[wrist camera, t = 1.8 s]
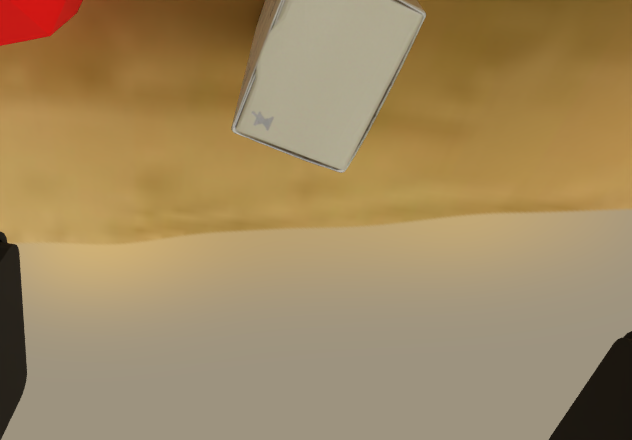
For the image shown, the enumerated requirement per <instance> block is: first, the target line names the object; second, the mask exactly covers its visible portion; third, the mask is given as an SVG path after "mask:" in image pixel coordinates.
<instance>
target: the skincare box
mask: <svg viewBox="0 0 632 440" xmlns="http://www.w3.org/2000/svg"><path fill="white" fill-rule="evenodd" d="M425 17H426V13H425V11H424V10H423V8H422V7H421V6H420V4H419V2H418V1H417V0H265V3H264V5H263V8H262V11H261V14H260V17H259V20H258V23H257V26H256V30H255V34H254V38H253V42H252V46H251V50H250V55H249V59H248V63H247V67H246V71H245V75H244V79H243V83H242V86H241V90H240V95H239V99H238V103H237V107H236V111H235V115H234V120H233V124H232V131H233V132H234V133H236V134H238V135H241V136H243V137H246V138H249V139H251V140H254V141H256V142H258V143H261V144H264V145H266V146H269V147H271V148H273V149H276V150H279V151H281V152H284V153H286V154H289V155H292V156H294V157H297V158H299V159H302V160H305V161H307V162H310V163H313V164H316V165H318V166H322V167H326V168H328V169H331V170H334V171H337V172H341V173H342V172H345V171H346V169H347V168H348V166H349V165H350V163H351V161H352V160H353V158H354V157H355V155H356V153H357V151H358V150H359V148H360V146H361V145H362V143H363V141H364V139H365V137H366V136H367V134H368V132H369V130H370V128H371V126H372V124H373V123H374V121H375V119H376V117H377V115H378V113H379V111H380V109H381V107H382V105H383V103H384V101H385V99H386V97H387V95H388V94H389V92H390V90H391V88H392V86H393V84H394V82H395V80H396V78H397V76H398V74H399V71H400V69H401V68H402V66H403V63H404V61H405V59H406V57H407V55H408V53H409V51H410V49H411V47H412V45H413V43H414V40H415V38H416V36H417V34H418V32H419V30H420V28H421V25H422V23H423V21H424V19H425Z"/></svg>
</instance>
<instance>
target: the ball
mask: <svg viewBox="0 0 632 440" xmlns="http://www.w3.org/2000/svg"><path fill="white" fill-rule="evenodd" d="M82 1H83V0H0V46H2V45H7V44H12V43H17V42H22V41H27V40H32V39H37V38H42V37H48V36H51V35H52V34H53V33H54V32H55V31H56V30H58V29H59V28H60V27H61V26H62V25H63V24H65V23H66V22H67V21H68V20H69V19H70V18H72V17H73V16H74V15H75V14H76V13H77V12H78V9H79V7H80V5H81V3H82Z"/></svg>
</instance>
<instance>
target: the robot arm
mask: <svg viewBox="0 0 632 440" xmlns="http://www.w3.org/2000/svg"><path fill="white" fill-rule="evenodd" d="M25 351H26V350H25V335H24V320H23V304H22V288H21V273H20V259H19V249H18V247H17V245H15V244H9V243H7V239H6V236H5V234H4V233H2V232H0V440H1V438H2V436H3V434H4V432H5V430H6V428H7V426H8V423H9V421H10V419H11V417H12V415H13V413H14V411H15V409H16V407H17V405H18V402H19V401H20V398H21V396H22V394H23V390H24V387H25V383H26V377H27V366H26V352H25ZM549 440H632V331H631V332H629V333H627V334H626V335H625V336H624V337H623V338H620V339H618V340H617V341H616V342H615V343H614V344H613V345H612V347H611V348H610V350H609V351H608V353H607V354H606V356H605V357H604V359H603V360H602V362H601V363H600V365H599V366H598V368H597V369H596V371H595V372H594V373H593V375H592V376H591V378H590V379H589V381H588V382H587V384H586V385H585V387H584V388H583V390H582V391H581V392H580V394H579V396H578V397H577V398H576V400H575V401H574V403H573V404H572V406H571V407H570V409H569V410H568V412H567V413H566V415H565V416H564V418H563V419H562V420H561V422H560V423H559V425H558V427H557V428H556V429H555V431H554V432H553V434H552V435H551V437H550V439H549Z"/></svg>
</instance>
